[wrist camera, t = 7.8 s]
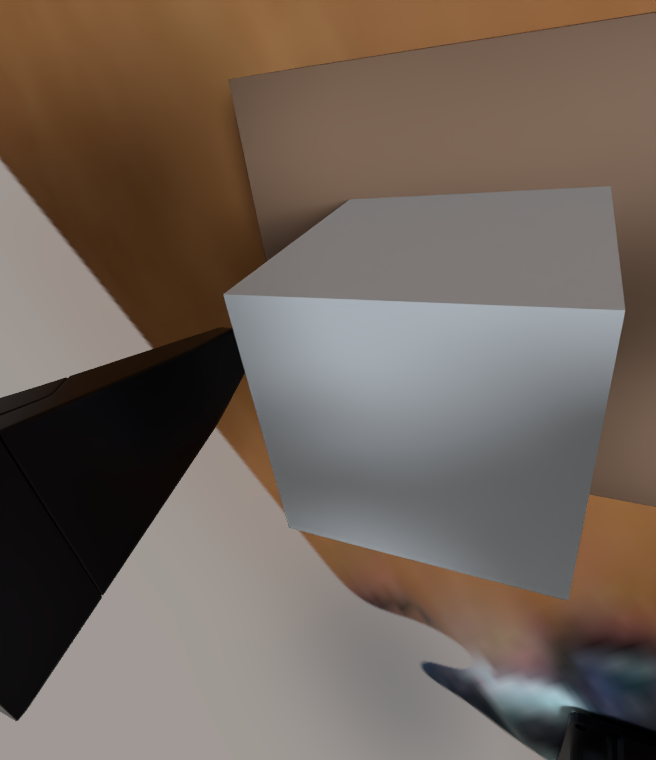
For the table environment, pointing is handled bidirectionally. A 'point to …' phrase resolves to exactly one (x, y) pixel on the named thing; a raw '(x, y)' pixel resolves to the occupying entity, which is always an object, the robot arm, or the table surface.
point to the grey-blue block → (440, 375)
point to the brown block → (483, 164)
